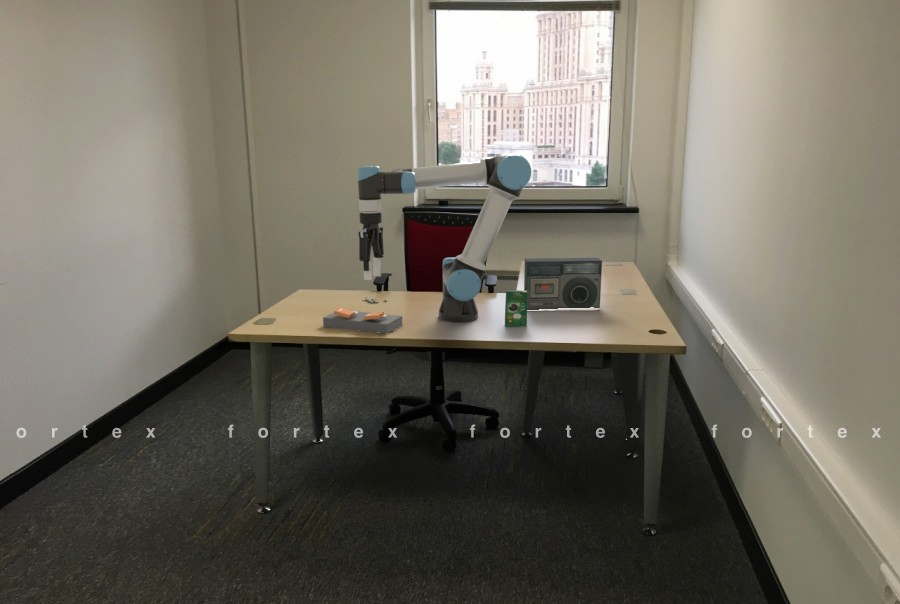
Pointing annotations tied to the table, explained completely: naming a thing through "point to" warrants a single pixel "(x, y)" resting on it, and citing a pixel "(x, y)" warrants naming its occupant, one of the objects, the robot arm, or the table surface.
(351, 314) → the rocker
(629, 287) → the table surface
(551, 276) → the cassette player
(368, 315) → the rocker
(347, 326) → the grey rectangular block
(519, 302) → the coffee box
